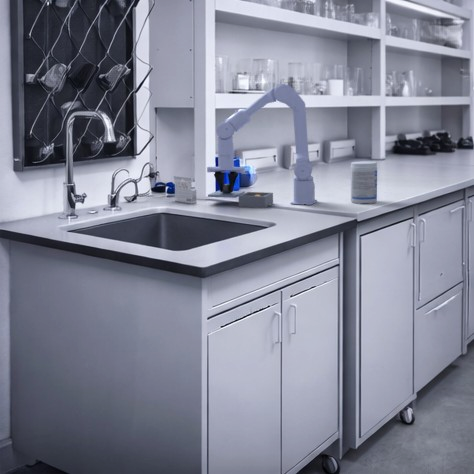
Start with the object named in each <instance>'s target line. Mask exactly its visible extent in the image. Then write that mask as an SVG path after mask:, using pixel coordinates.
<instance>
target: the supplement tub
mask: <svg viewBox="0 0 474 474" xmlns="http://www.w3.org/2000/svg"><path fill="white" fill-rule="evenodd" d="M377 163H378V162H376V161H368V160H367V161H353V162H351V163H350V201H351V203H352V204H353V203H354V204H357V203H369V204H373V203H374V202H375V203H376V202H377V200H378V165H377Z"/></svg>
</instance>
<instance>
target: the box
mask: <svg viewBox="0 0 474 474" xmlns="http://www.w3.org/2000/svg"><path fill="white" fill-rule="evenodd" d="M255 195H260V196H255ZM272 203H273V204H274V192H263V191H245V193H244V194H242V195H239V196H238V207H241V208H261V209H263V208H264V209H265V208H268V207H269V206H271V205H273V204H272ZM270 204H271V205H270ZM268 205H269V206H268Z"/></svg>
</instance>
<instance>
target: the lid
mask: <svg viewBox="0 0 474 474" xmlns="http://www.w3.org/2000/svg"><path fill="white" fill-rule="evenodd" d="M222 186H223V192H220V190H217V191H216V190H215V191H213V192H211V193H208V194H207V197H208V198H232V199H234V198H235V199H236V198H239V195H242V194H244V193H246V191H244V190H237V191H236V190H233V192H229V183H224V184H223V185H222Z"/></svg>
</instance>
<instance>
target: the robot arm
mask: <svg viewBox="0 0 474 474" xmlns="http://www.w3.org/2000/svg"><path fill="white" fill-rule="evenodd" d="M275 102H279V103H282V104H284V105H286V106H288V108H290V109H291V110H292V115H293V129H294V144H295V166H294V170H293V171H294V172H293V173H294V175H295V176H294V177H293V201H291V202H290V205H304V204H306V205H308V206H309V205H310V206H312V205H313V204H315V203H316V202H318V199H316V198H315V194H316V191H315V188H316V186H315V182H314V177H313V176H312V171H313V165H312V163H311V161H310V155H309V154H310V153H309V142H308V140H309V139H308V128H307V127H308V125H307V112H306V110H307V109H306V102H305V101H304V100H303V98H302V97H301V96H300V95H299V93H298V92H297V91H296V89H294V88H293V87H292V86H290V85H289V84H285V83H281V84H278V85H276V86H275V87H274V88H272V89H269V90H267V91H266V92H264V93H263V94H262V95H261V96H259V98H257V100H255V101H254V102H253V103H251V104H250V105H249V106H248V107H246V109H244V108H240V109H235V110H234V113H233V114H232V115H231V116H229V117H228V118H225V119H224V120H223V121H224V122H221V123H219V125H218V126H217V128H216V135H217V141H218V142H217V158H218V159H217V161H218V162H217V163H218V166H208V167H206V170H207V171H206V172H207V173H213V175H214V176H213V177H214V178H215V180H216V182H217V184H218V187H219V191H220V192H223V186H222V185H223V184H225V176H226V175H225V174H226V173H227V177H228V184H229V192H233V191H234V188H235V183H236V180H237V178H238V176H239V173H241V174H245V173H246V167H243V166H241V167H239V166H235V162H234V157H235V156H234V141H233V138H234V137H233V135H234V133H236V132H238V131H240V130H241V129H242V128H243V127H245V126H246V125H247V124H249V123H250V122H251V117H252V116H253V115H254V114H256V113H257V112H259V111H260V110H261V109H263V108H264V107H265V106H267V104H270V103H271V104H272V103H275Z"/></svg>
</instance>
